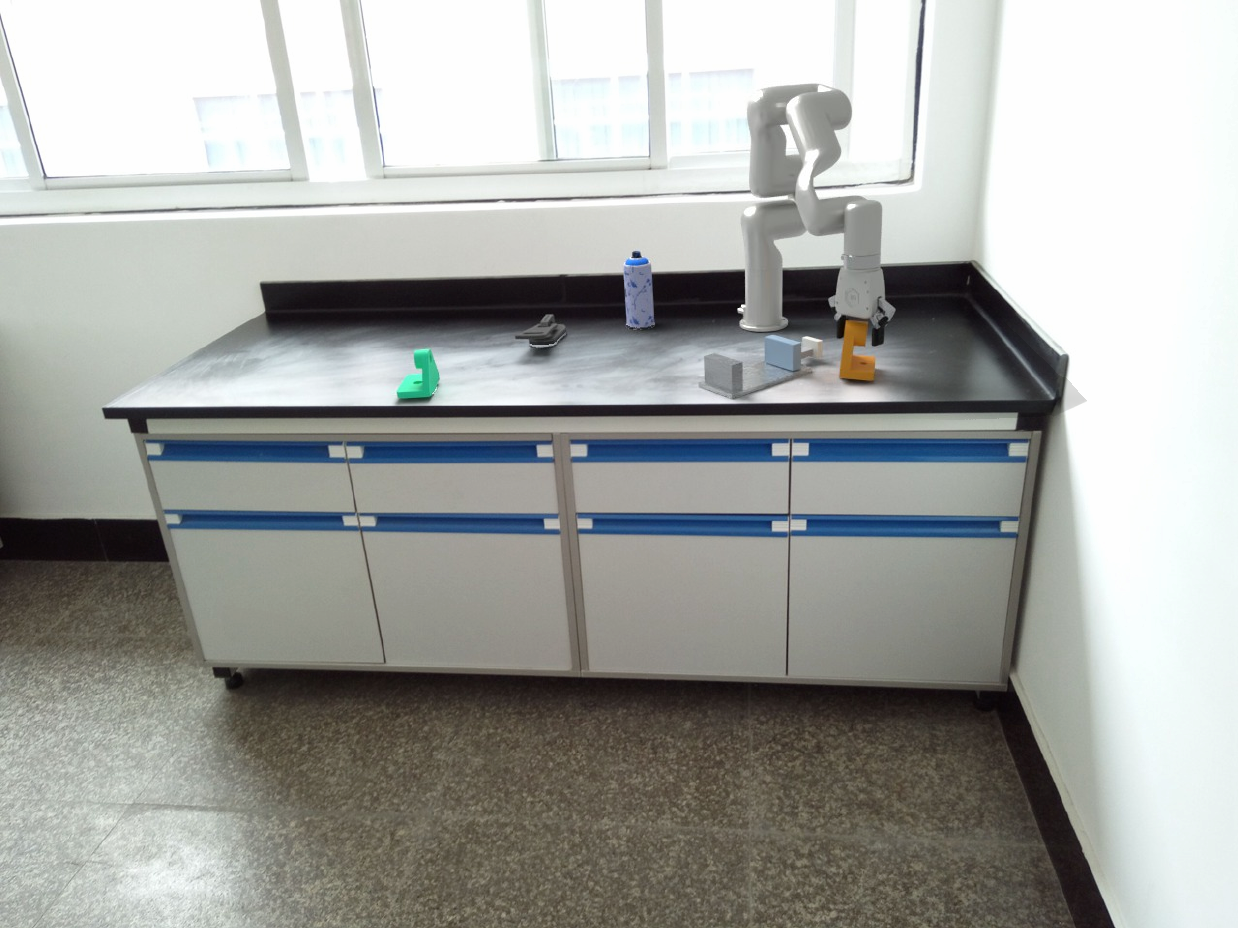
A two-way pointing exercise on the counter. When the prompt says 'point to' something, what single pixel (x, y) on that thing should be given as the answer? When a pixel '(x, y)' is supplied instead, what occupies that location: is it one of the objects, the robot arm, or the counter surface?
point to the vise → (743, 375)
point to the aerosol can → (638, 291)
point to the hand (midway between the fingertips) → (859, 341)
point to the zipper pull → (543, 332)
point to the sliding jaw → (791, 351)
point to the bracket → (856, 364)
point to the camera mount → (420, 377)
